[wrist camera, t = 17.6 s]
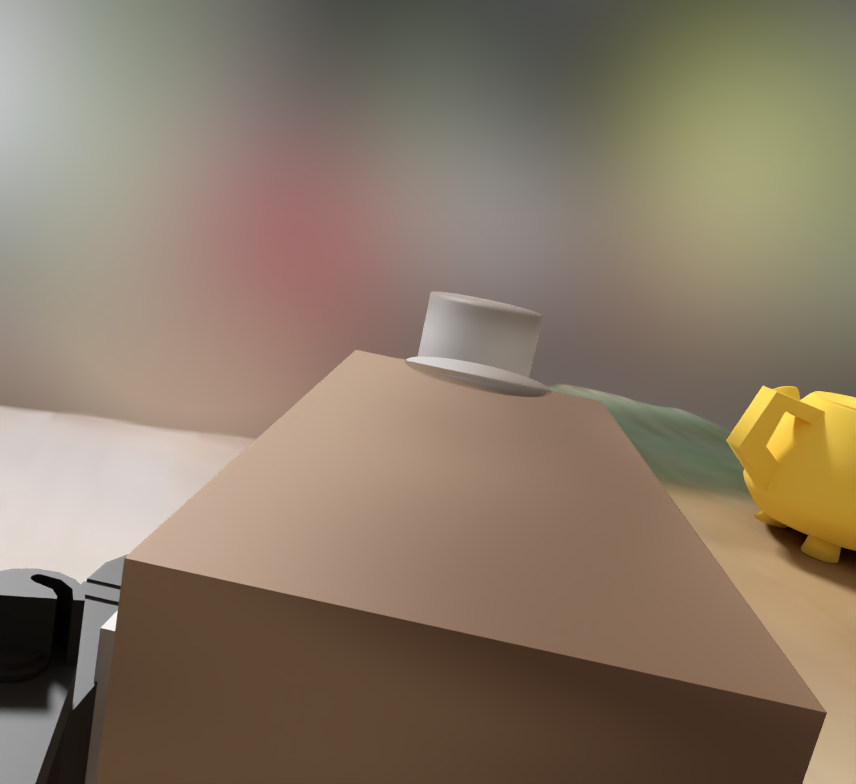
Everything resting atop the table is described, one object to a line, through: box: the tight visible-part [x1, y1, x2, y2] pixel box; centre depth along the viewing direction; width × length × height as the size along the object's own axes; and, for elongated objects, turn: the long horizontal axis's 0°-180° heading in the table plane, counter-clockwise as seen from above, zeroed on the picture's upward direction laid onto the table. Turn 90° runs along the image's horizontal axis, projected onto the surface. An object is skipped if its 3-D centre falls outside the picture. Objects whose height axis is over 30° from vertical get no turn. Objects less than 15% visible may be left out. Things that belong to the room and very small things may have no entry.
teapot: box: [726, 386, 856, 563], centre depth 51 cm, size 20×18×11 cm
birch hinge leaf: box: [418, 292, 543, 378], centre depth 24 cm, size 12×3×13 cm, turn 176°
